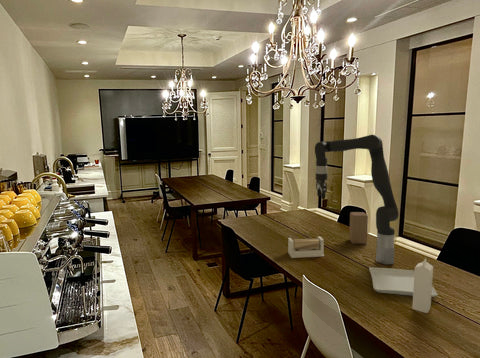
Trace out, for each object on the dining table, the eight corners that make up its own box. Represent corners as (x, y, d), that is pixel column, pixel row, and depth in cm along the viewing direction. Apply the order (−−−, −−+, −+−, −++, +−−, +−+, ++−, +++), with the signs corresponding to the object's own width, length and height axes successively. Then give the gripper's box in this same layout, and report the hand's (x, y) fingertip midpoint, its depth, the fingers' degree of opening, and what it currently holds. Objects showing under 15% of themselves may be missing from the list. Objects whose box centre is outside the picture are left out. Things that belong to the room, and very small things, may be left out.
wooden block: (363, 239, 241) (364, 211, 238) (367, 244, 231) (368, 215, 228) (348, 239, 242) (349, 211, 239) (352, 244, 232) (352, 215, 229)
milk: (430, 308, 149) (434, 259, 146) (427, 313, 144) (431, 263, 141) (415, 303, 153) (418, 256, 150) (411, 309, 148) (415, 260, 145)
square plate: (423, 277, 180) (423, 270, 179) (438, 302, 154) (438, 294, 153) (368, 272, 187) (368, 265, 187) (373, 295, 161) (373, 288, 161)
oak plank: (318, 248, 212) (319, 240, 212) (295, 249, 211) (295, 241, 210) (316, 246, 217) (316, 238, 216) (293, 247, 216) (293, 239, 215)
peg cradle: (324, 256, 211) (324, 240, 209) (291, 257, 209) (291, 242, 207) (319, 250, 221) (319, 235, 219) (287, 252, 219) (287, 237, 217)
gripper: (331, 173, 216) (330, 199, 218) (323, 171, 230) (322, 194, 232) (319, 174, 215) (318, 199, 218) (312, 171, 229) (312, 195, 232)
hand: (321, 197), depth 225 cm, fingers open, 8 cm apart
